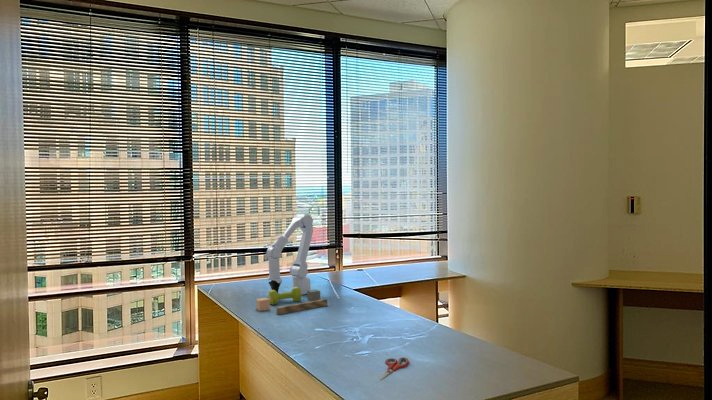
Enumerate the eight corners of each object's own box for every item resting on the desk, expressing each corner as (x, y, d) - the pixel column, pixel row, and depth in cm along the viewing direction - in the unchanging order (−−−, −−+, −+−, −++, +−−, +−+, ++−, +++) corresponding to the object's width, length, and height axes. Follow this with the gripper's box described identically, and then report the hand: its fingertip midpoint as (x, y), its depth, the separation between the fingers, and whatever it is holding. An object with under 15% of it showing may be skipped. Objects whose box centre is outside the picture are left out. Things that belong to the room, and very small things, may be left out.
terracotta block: (265, 307, 243) (265, 297, 243) (269, 309, 239) (269, 299, 239) (256, 309, 241) (255, 299, 241) (260, 311, 236) (259, 300, 236)
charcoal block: (316, 298, 259) (315, 289, 258) (320, 300, 254) (320, 290, 254) (307, 300, 256) (307, 290, 256) (312, 302, 252) (311, 292, 251)
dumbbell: (298, 299, 260) (297, 285, 260) (302, 302, 253) (302, 288, 253) (267, 303, 253) (266, 289, 253) (271, 306, 246) (270, 291, 246)
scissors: (372, 385, 144) (372, 380, 144) (387, 360, 164) (387, 356, 164) (398, 387, 142) (398, 382, 142) (410, 361, 162) (410, 357, 162)
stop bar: (325, 304, 244) (325, 298, 244) (327, 305, 242) (327, 299, 242) (276, 313, 230) (276, 307, 230) (278, 314, 228) (278, 308, 228)
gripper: (262, 268, 267) (263, 293, 267) (272, 271, 255) (273, 298, 255) (274, 267, 271) (275, 291, 271) (285, 270, 258) (286, 296, 259)
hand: (275, 294), depth 263 cm, fingers closed
